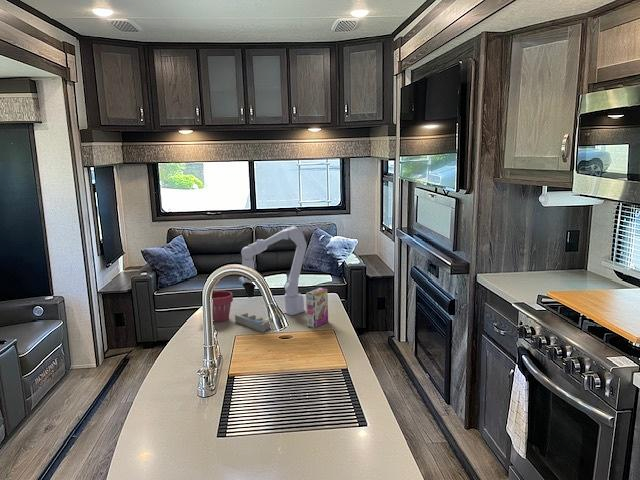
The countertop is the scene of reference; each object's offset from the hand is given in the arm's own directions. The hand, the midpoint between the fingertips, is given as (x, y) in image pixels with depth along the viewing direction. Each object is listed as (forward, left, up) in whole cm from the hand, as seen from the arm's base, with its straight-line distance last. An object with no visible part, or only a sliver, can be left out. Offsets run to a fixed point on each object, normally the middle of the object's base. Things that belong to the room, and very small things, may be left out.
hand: (250, 297), depth 238 cm
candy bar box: (-13, +35, -10) cm, 39 cm away
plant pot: (+13, -9, -10) cm, 19 cm away
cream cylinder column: (+2, +18, -10) cm, 21 cm away
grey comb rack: (+8, +12, -10) cm, 17 cm away
